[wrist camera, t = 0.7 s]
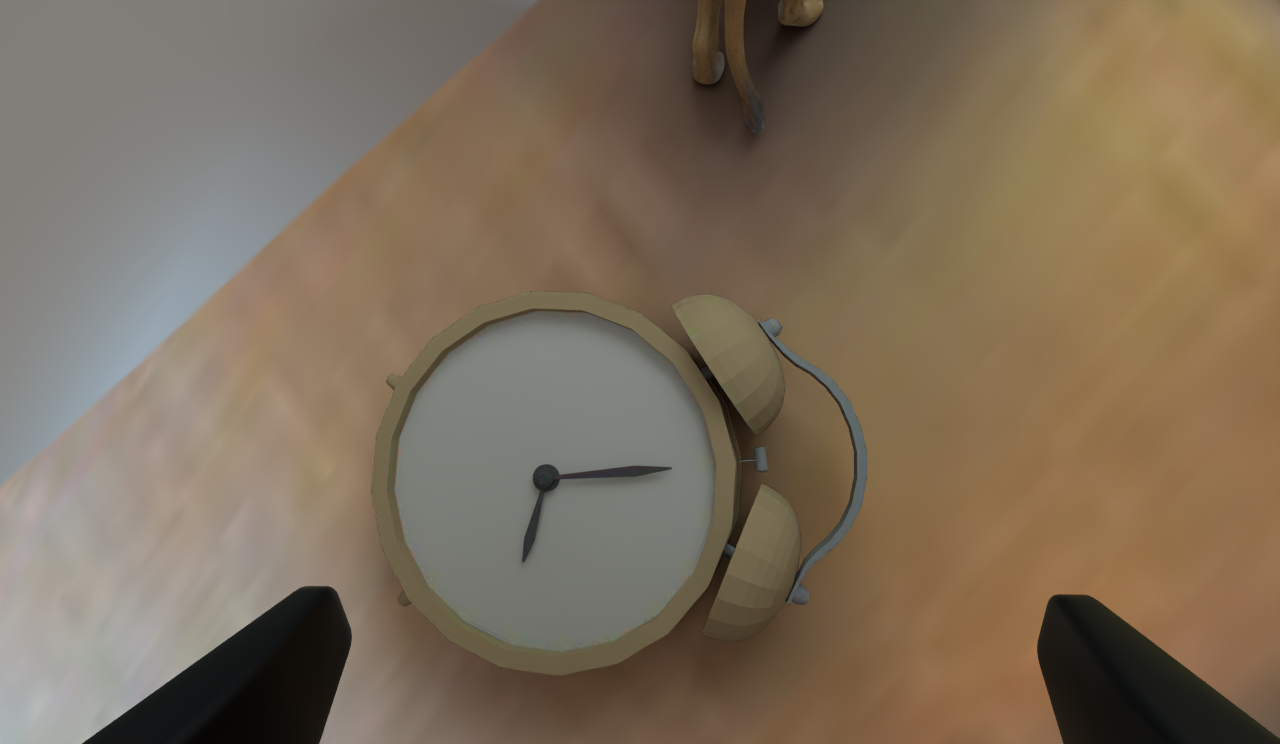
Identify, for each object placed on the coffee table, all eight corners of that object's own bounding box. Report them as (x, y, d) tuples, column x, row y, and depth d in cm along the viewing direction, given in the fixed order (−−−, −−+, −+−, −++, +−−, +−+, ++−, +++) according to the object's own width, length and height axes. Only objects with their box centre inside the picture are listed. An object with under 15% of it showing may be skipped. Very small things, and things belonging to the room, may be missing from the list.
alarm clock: (354, 314, 23) (841, 236, 19) (440, 333, 28) (846, 274, 23) (371, 680, 22) (894, 687, 18) (458, 634, 27) (887, 631, 22)
